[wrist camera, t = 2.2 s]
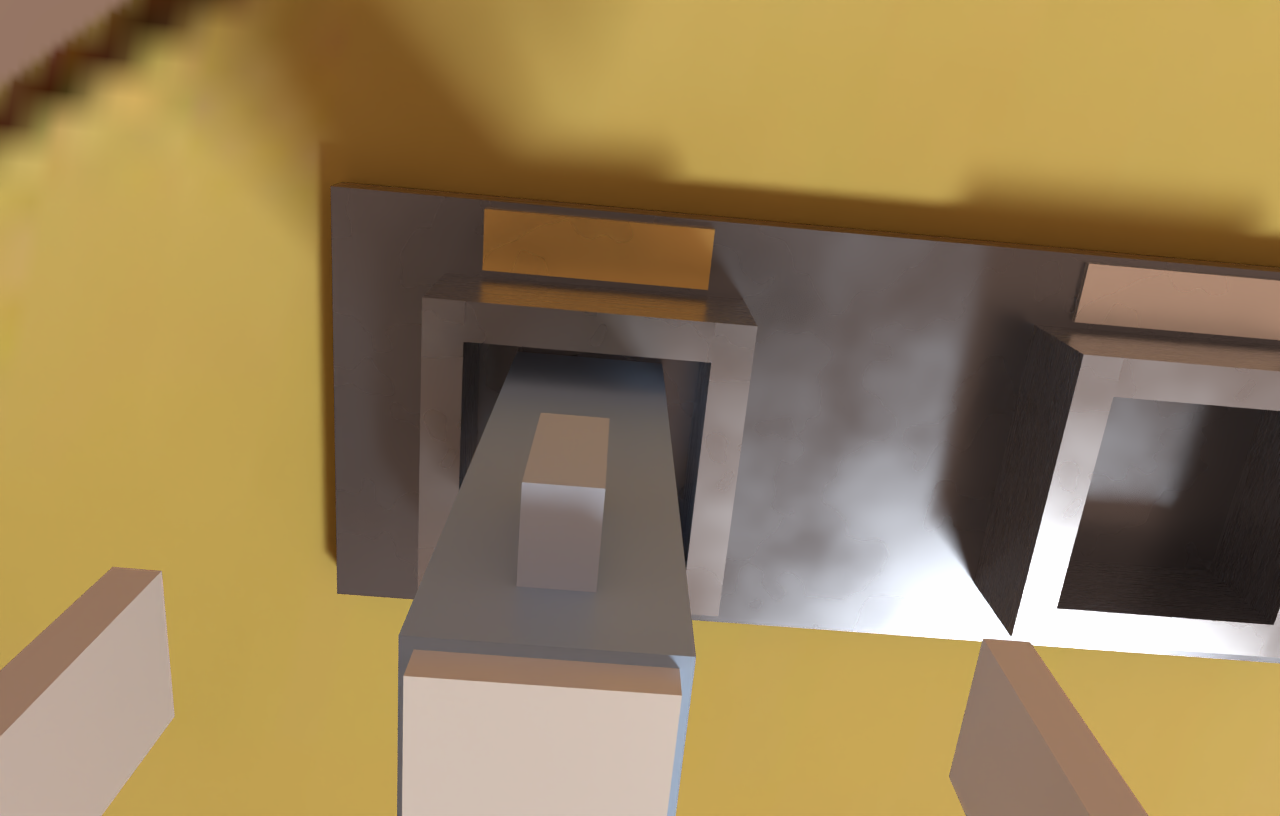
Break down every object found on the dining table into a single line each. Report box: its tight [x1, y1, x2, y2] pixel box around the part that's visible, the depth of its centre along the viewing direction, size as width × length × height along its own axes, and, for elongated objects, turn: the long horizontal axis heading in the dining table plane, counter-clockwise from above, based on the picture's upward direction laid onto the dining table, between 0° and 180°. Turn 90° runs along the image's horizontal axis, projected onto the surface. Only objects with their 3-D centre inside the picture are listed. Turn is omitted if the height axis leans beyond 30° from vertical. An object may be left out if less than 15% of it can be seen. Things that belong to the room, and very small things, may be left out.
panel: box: [331, 182, 1280, 663], centre depth 26 cm, size 30×12×4 cm, turn 85°
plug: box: [397, 351, 696, 816], centre depth 19 cm, size 4×6×15 cm
